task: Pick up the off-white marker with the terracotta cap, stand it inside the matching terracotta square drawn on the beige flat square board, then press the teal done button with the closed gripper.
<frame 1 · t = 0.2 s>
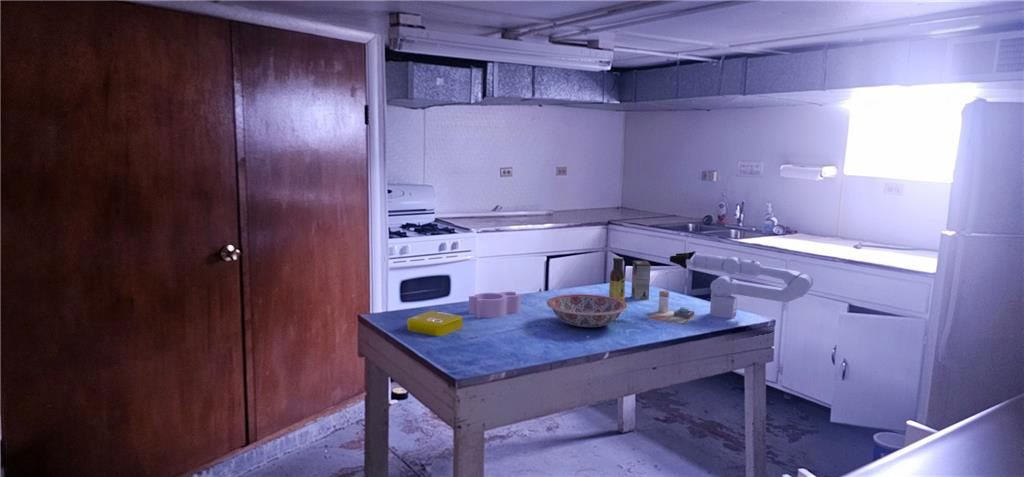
hand: (673, 257, 261), 21 cm above the table, tool horizontal, fingers open, 7 cm apart
element tile: (435, 329, 233), on the table
beige flat square board: (671, 319, 250), on the table
ceramic bowl: (586, 325, 241), on the table
button housing: (683, 315, 251), resting on beige flat square board
clip: (495, 313, 255), on the table
coffee box: (639, 299, 281), on the table
sauce bottle: (616, 306, 270), on the table
done button: (684, 310, 251), point 3 cm above the table, slide at 0.0 cm
marker: (663, 311, 257), point 1 cm above the table, touching beige flat square board
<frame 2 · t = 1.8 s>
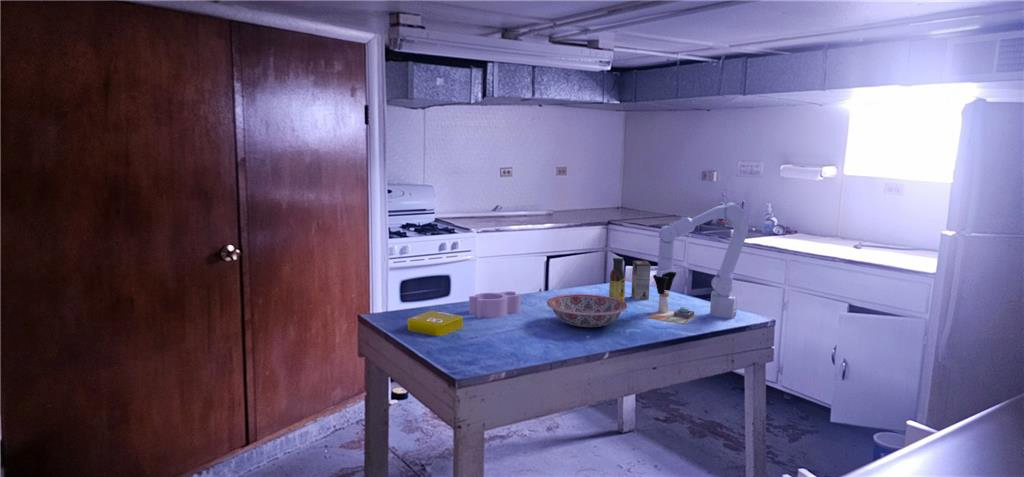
hand: (664, 291, 256), 9 cm above the table, tool pointing down, fingers open, 7 cm apart
nothing on the table moved.
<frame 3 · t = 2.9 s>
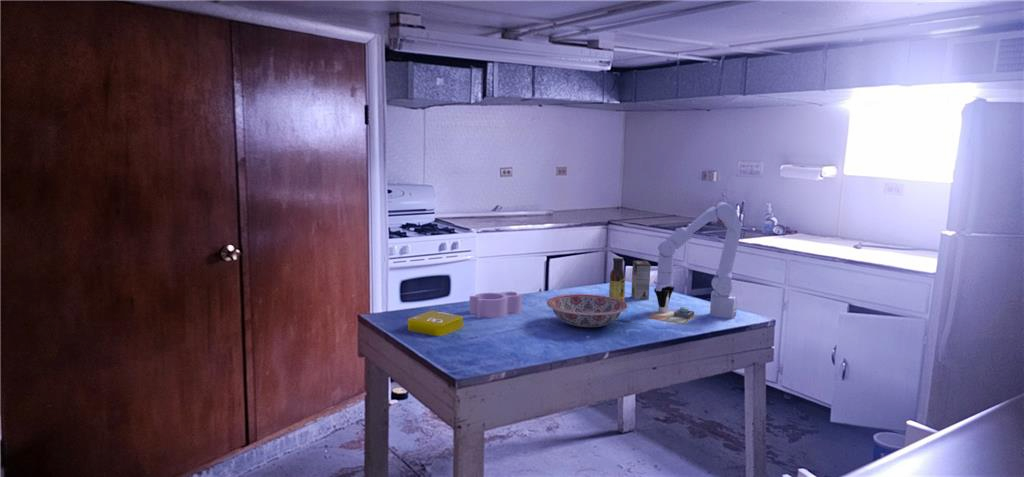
hand: (663, 305, 256), 3 cm above the table, tool pointing down, fingers closed on marker, 4 cm apart
marker: (663, 311, 257), point 1 cm above the table, touching beige flat square board, gripper
everything else where it was.
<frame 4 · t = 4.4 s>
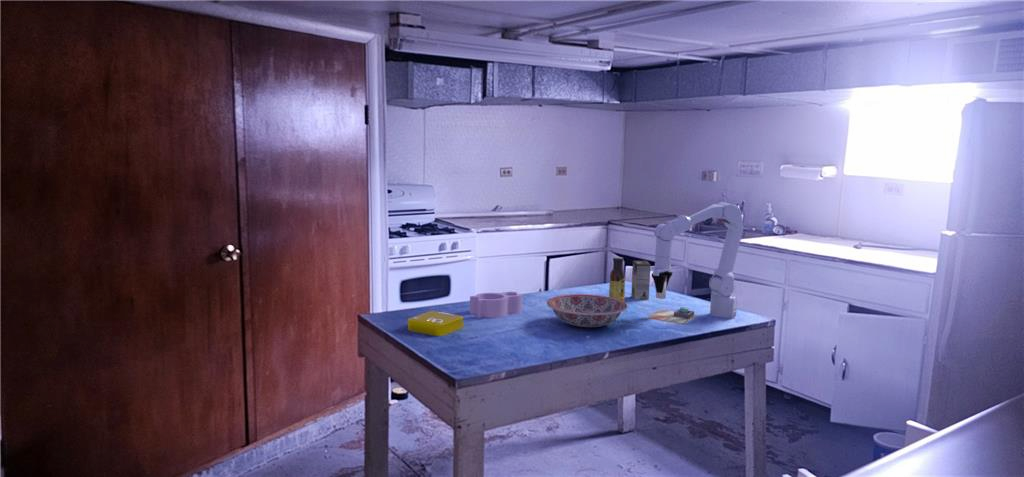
hand: (661, 291, 249), 10 cm above the table, tool pointing down, fingers closed on marker, 4 cm apart
marker: (660, 297, 250), point 8 cm above the table, touching gripper
everything else where it was.
when the fingers open (5 cm above the table, at t = 6.1 s): marker drops 1 cm, resting on beige flat square board.
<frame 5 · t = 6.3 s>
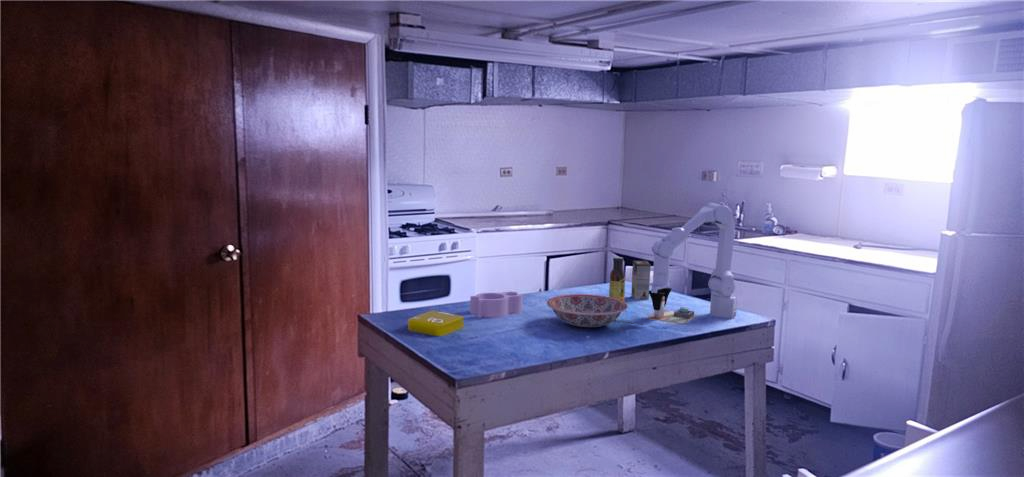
hand: (659, 308, 248), 5 cm above the table, tool pointing down, fingers open, 5 cm apart
marker: (658, 317, 248), point 1 cm above the table, touching beige flat square board
everything else where it was.
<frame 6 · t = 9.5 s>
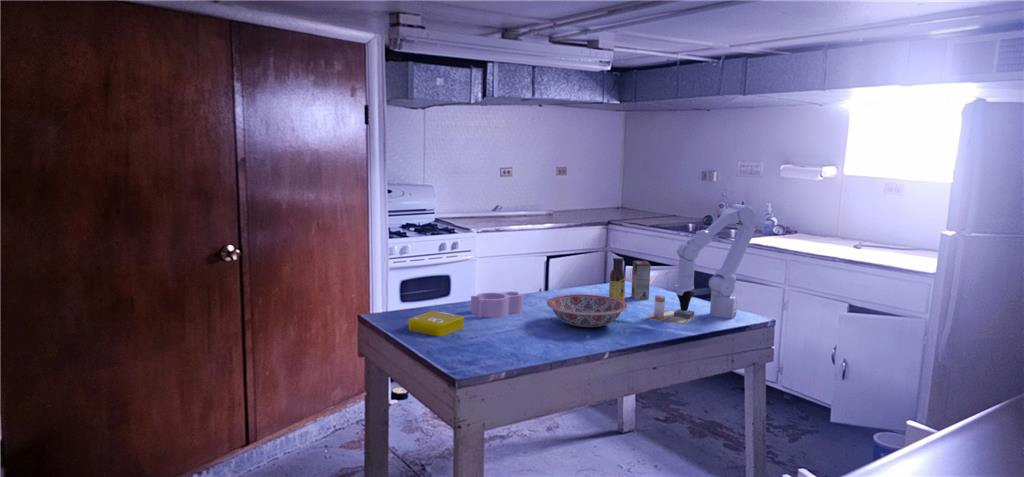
hand: (684, 310, 251), 3 cm above the table, tool pointing down, fingers closed, pressing on done button
done button: (684, 312, 251), point 2 cm above the table, slide at 0.8 cm, touching gripper
everything else where it was.
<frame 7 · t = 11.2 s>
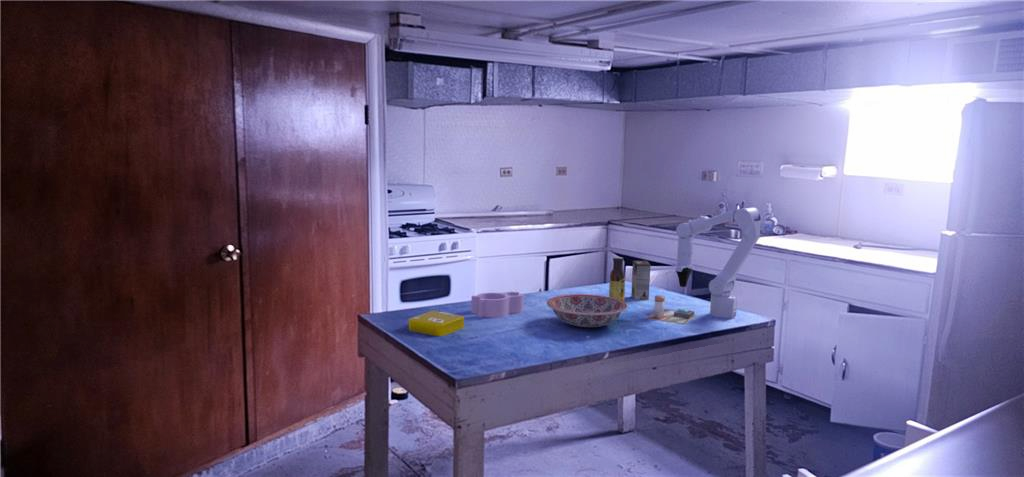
hand: (682, 286, 263), 10 cm above the table, tool pointing down, fingers closed
done button: (684, 312, 251), point 2 cm above the table, slide at 0.8 cm
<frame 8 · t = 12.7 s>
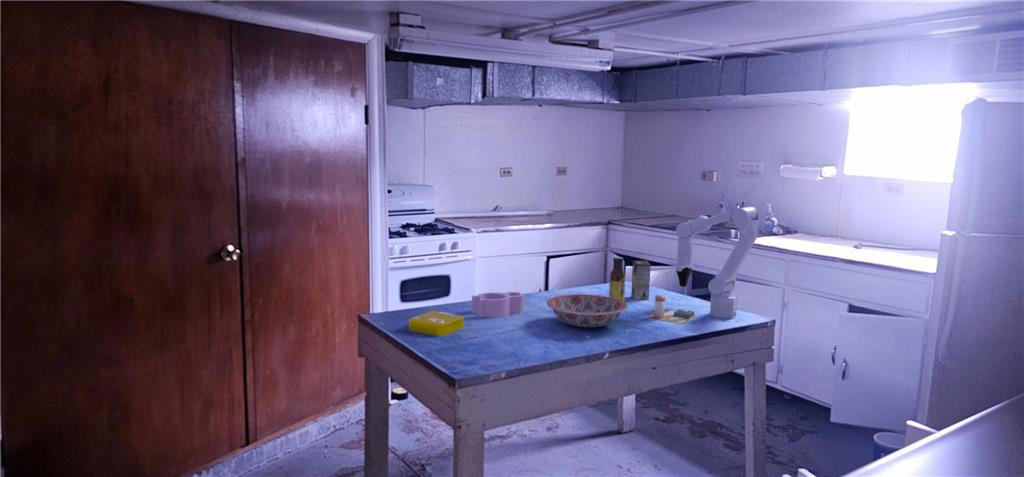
hand: (683, 286, 264), 9 cm above the table, tool pointing down, fingers closed
at the end: marker 0.1 cm from the target spot on the beige flat square board, point 1.1 cm above the beige flat square board's base; marker tilted 2°; done button slide at 0.8 cm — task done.
